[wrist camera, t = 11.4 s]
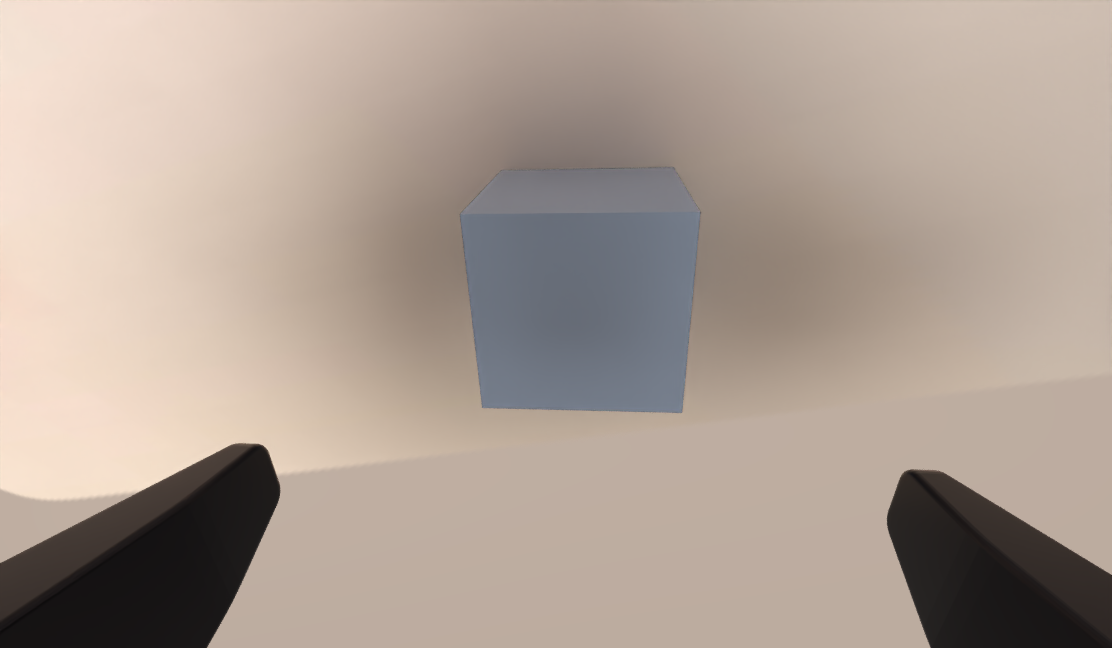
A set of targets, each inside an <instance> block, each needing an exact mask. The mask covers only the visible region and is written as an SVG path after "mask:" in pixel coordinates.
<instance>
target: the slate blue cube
mask: <svg viewBox="0 0 1112 648" xmlns="http://www.w3.org/2000/svg"><path fill="white" fill-rule="evenodd" d="M460 220H461V228H462V237H463V245H464V254H465V263H466V271H467V280H468V289H469V297H470V306H471V314H472V323H473V332H474V340H475V349H476V358H477V366H478V375H479V384H480V392H481V401H482V408H508V409H548V410H588V411H628V412H668V413H682V408H683V397H684V386H685V375H686V364H687V354H688V343H689V332H690V321H691V310H692V299H693V288H694V277H695V266H696V255H697V244H698V233H699V222H700V210H699V209H698V207H697V205H696V204H695V202H694V200H693V199H692V197H691V195H690V194H689V192H688V190H687V189H686V187H685V186H684V184H683V182H682V181H681V179H680V177H679V176H678V174H677V172H676V171H675V169H674V167H659V168H601V169H543V170H501V171H500V172H499V173H498V174H497V175H496V176H495V177H494V179H493V180H492V181H491V182H490V183H489V184H488V185H487V186H486V187H485V188H484V189H483V190H482V191H481V192H480V193H479V194H478V195H477V197H476V198H475V199H474V200H473V201H472V202H471V203H470V204H469V205H468V206H467V207H466V208H465V209H464V210H463V211H462V212H461V214H460Z"/></svg>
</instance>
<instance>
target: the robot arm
mask: <svg viewBox="0 0 1112 648" xmlns="http://www.w3.org/2000/svg"><path fill="white" fill-rule="evenodd" d="M279 496H280V484H279V481H278V478H277V475H276V472H275V469H274V466H273V464H272V461H271V458H270V455H269V452H268V450H267V449H266V448H265V447H264V446H263V445H260V444H246V443H238V444H233V445H230V446H228V447H226V448H224V449H222V450H220V451H218V452H216V453H215V454H213V455H211V456H209V457H207V458H205V459H203V460H201V461H199V462H197V463H195V464H193V465H191V466H189V467H187V468H185V469H183V470H181V471H179V472H177V473H176V474H174V475H172V476H170V477H168V478H166V479H164V480H162V481H160V482H158V483H156V484H154V485H152V486H150V487H148V488H146V489H144V490H142V491H140V492H138V493H136V494H135V495H133V496H131V497H129V498H127V499H125V500H123V501H121V502H119V503H117V504H115V505H113V506H111V507H109V508H107V509H105V510H103V511H101V512H100V513H98V514H96V515H94V516H92V517H90V518H88V519H86V520H84V521H82V522H80V523H78V524H76V525H74V526H72V527H70V528H68V529H66V530H64V531H62V532H60V533H59V534H57V535H55V536H53V537H51V538H49V539H47V540H45V541H43V542H41V543H39V544H37V545H35V546H33V547H31V548H29V549H27V550H25V551H23V552H21V553H20V554H17V555H16V556H14V557H12V558H10V559H8V560H6V561H4V562H2V563H0V648H207V647H208V645H209V643H210V641H211V640H212V638H213V636H214V634H215V633H216V631H217V629H218V627H219V626H220V624H221V622H222V620H223V618H224V617H225V615H226V613H227V611H228V609H229V607H230V605H231V604H232V602H233V599H234V598H235V596H236V594H237V592H238V589H239V587H240V585H241V583H242V581H243V579H244V577H245V574H246V572H247V570H248V568H249V566H250V563H251V561H252V559H253V557H254V555H255V552H256V550H257V548H258V546H259V543H260V541H261V539H262V537H263V535H264V532H265V530H266V528H267V526H268V524H269V521H270V519H271V517H272V515H273V512H274V510H275V508H276V506H277V503H278V501H279ZM887 526H888V531H889V534H890V537H891V540H892V542H893V545H894V548H895V551H896V554H897V557H898V560H899V562H900V565H901V568H902V571H903V573H904V576H905V579H906V582H907V585H908V587H909V590H910V593H911V596H912V599H913V601H914V604H915V607H916V610H917V613H918V615H919V618H920V621H921V624H922V627H923V629H924V632H925V634H926V637H927V640H928V642H929V645H930V647H931V648H1112V575H1111V574H1109V573H1107V572H1106V571H1104V570H1103V569H1101V568H1099V567H1098V566H1096V565H1094V564H1093V563H1091V562H1089V561H1088V560H1086V559H1085V558H1083V557H1081V556H1079V555H1078V554H1076V553H1075V552H1073V551H1071V550H1069V549H1068V548H1067V547H1065V546H1063V545H1062V544H1060V543H1058V542H1057V541H1055V540H1053V539H1052V538H1050V537H1048V536H1047V535H1045V534H1043V533H1042V532H1040V531H1039V530H1037V529H1035V528H1033V527H1032V526H1030V525H1029V524H1027V523H1026V522H1024V521H1022V520H1021V519H1019V518H1017V517H1015V516H1014V515H1012V514H1011V513H1009V512H1007V511H1006V510H1004V509H1003V508H1001V507H999V506H998V505H996V504H994V503H993V502H991V501H989V500H988V499H986V498H984V497H983V496H981V495H980V494H978V493H976V492H975V491H973V490H971V489H970V488H968V487H966V486H965V485H963V484H962V483H960V482H958V481H957V480H955V479H953V478H952V477H950V476H948V475H947V474H945V473H943V472H940V471H936V470H914V469H912V470H907V471H905V472H904V473H903V474H902V475H901V477H900V480H899V483H898V485H897V488H896V491H895V494H894V497H893V500H892V502H891V505H890V508H889V511H888V515H887Z"/></svg>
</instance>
